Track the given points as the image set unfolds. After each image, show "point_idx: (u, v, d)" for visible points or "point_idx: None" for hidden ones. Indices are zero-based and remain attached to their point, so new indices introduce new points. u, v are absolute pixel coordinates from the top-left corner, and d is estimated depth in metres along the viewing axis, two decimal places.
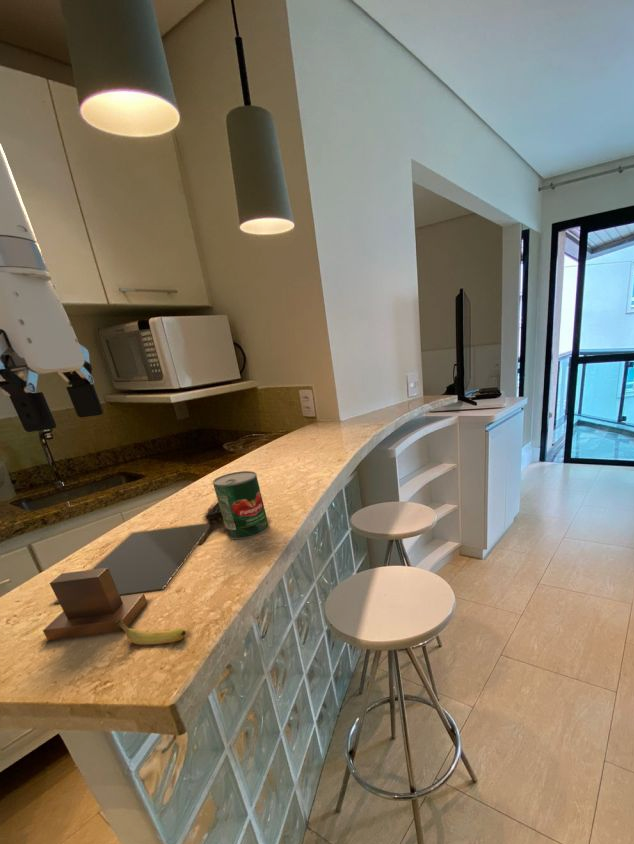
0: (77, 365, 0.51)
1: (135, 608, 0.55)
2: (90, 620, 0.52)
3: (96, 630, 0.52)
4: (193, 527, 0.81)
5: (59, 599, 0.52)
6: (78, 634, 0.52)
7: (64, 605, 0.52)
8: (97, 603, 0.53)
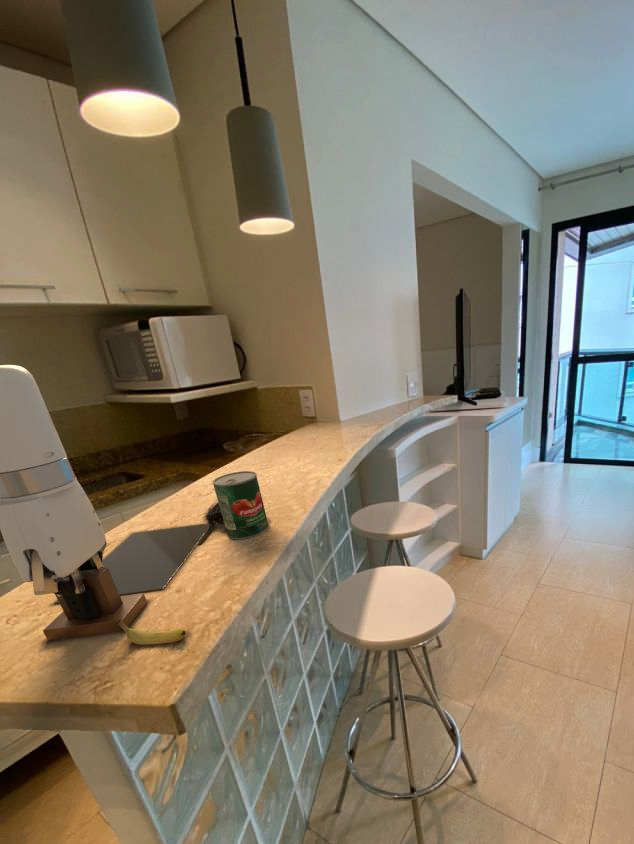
0: (100, 547, 0.54)
1: (135, 608, 0.55)
2: (90, 620, 0.52)
3: (96, 630, 0.52)
4: (193, 527, 0.81)
5: (59, 599, 0.52)
6: (78, 634, 0.52)
7: (64, 605, 0.52)
8: (97, 603, 0.53)
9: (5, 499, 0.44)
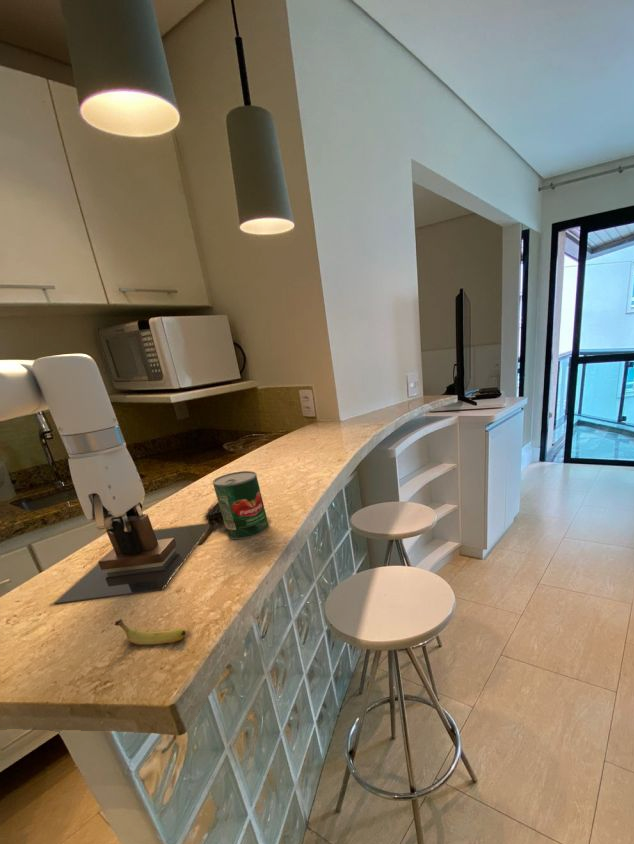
0: (141, 499, 0.68)
1: (168, 547, 0.69)
2: (134, 554, 0.67)
3: (139, 562, 0.67)
4: (193, 527, 0.81)
5: (110, 537, 0.67)
6: (125, 565, 0.67)
7: (114, 543, 0.67)
8: (140, 541, 0.67)
9: (76, 455, 0.59)
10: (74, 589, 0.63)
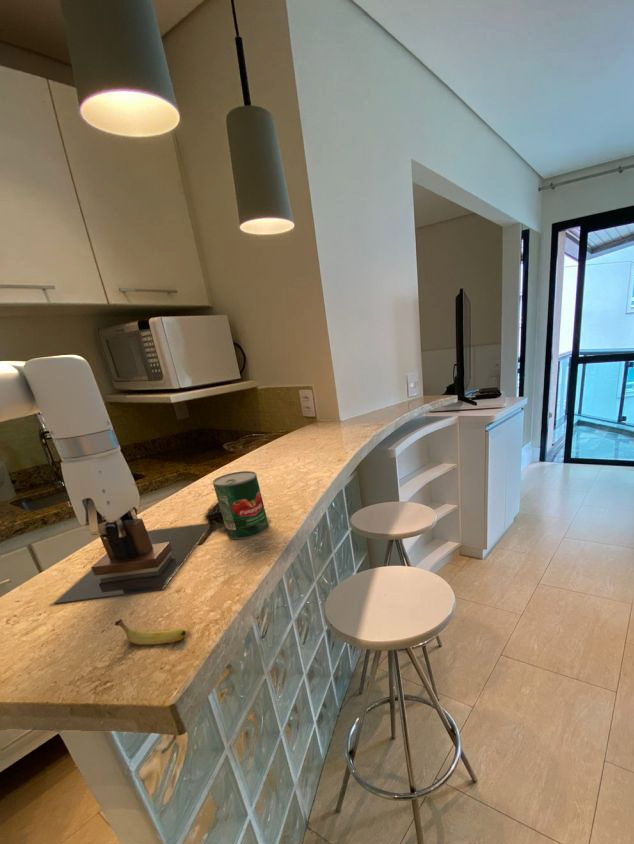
0: (136, 503, 0.67)
1: (163, 552, 0.68)
2: (128, 560, 0.65)
3: (133, 567, 0.65)
4: (193, 527, 0.81)
5: (104, 542, 0.65)
6: (119, 570, 0.65)
7: (108, 548, 0.65)
8: (134, 546, 0.66)
9: (68, 459, 0.57)
10: (74, 589, 0.63)
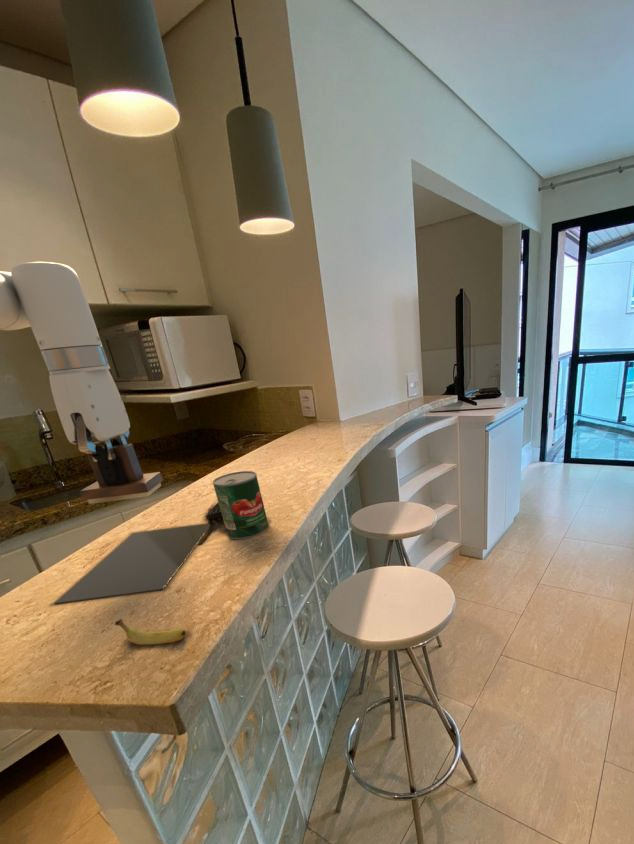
0: (126, 429, 0.66)
1: (154, 479, 0.67)
2: (118, 484, 0.65)
3: (123, 492, 0.64)
4: (193, 527, 0.81)
5: (93, 466, 0.64)
6: (108, 495, 0.64)
7: (97, 472, 0.65)
8: (124, 470, 0.65)
9: (57, 371, 0.57)
10: (74, 589, 0.63)
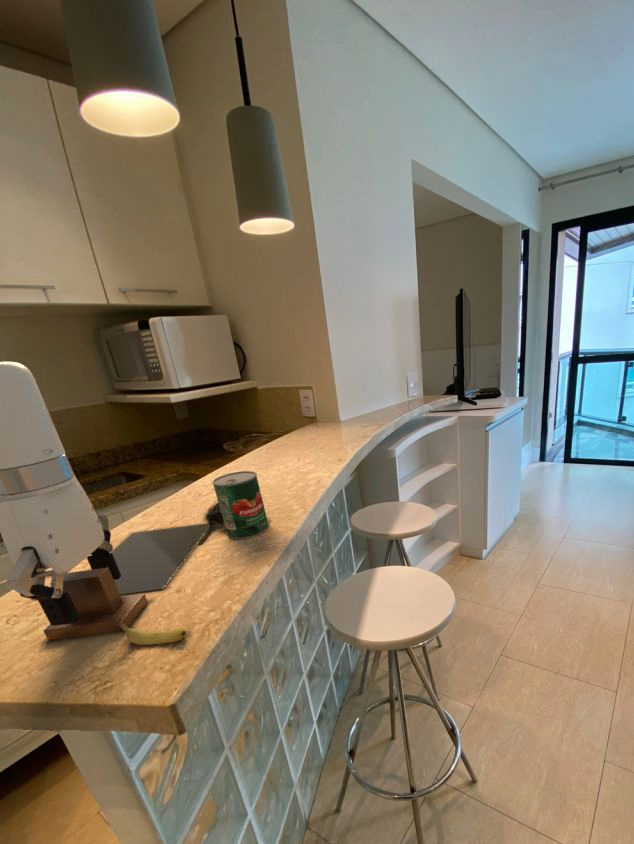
0: (98, 545, 0.54)
1: (135, 608, 0.55)
2: (91, 620, 0.52)
3: (97, 630, 0.52)
4: (193, 527, 0.81)
5: None
6: (79, 634, 0.52)
7: None
8: (98, 602, 0.53)
9: (3, 496, 0.44)
10: None
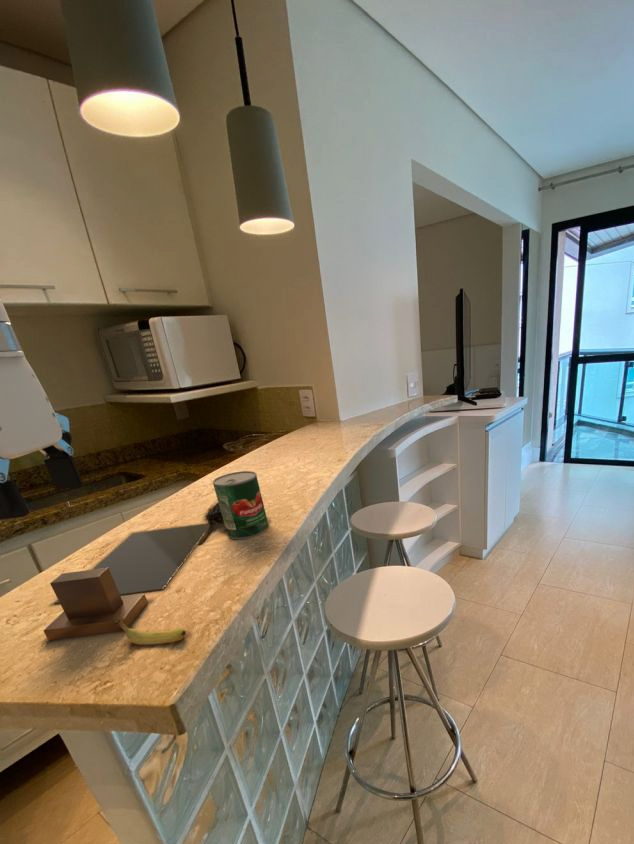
0: (54, 440, 0.48)
1: (135, 608, 0.55)
2: (91, 620, 0.52)
3: (97, 630, 0.52)
4: (193, 527, 0.81)
5: (59, 599, 0.52)
6: (79, 634, 0.52)
7: (65, 605, 0.52)
8: (98, 602, 0.53)
9: None
10: None
